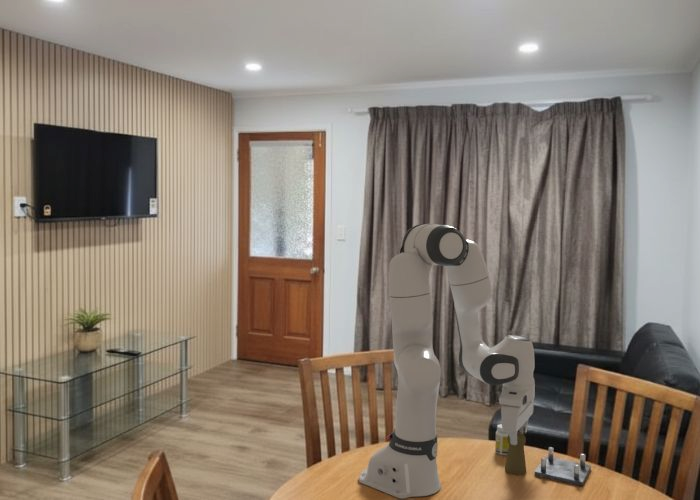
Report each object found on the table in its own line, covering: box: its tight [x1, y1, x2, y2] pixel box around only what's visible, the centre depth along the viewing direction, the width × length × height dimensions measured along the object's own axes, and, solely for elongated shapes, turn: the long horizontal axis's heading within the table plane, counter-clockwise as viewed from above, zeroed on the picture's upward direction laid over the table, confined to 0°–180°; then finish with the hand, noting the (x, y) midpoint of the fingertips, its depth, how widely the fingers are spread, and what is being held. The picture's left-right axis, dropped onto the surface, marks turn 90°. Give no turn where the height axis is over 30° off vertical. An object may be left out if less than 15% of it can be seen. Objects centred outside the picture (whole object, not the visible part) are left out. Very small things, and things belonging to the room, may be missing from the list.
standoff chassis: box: [533, 446, 592, 487], centre depth 177 cm, size 13×13×5 cm
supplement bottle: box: [495, 423, 509, 456], centre depth 191 cm, size 5×5×8 cm
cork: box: [504, 431, 527, 476], centre depth 178 cm, size 6×6×11 cm
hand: (518, 438), depth 178 cm, fingers open, 8 cm apart
